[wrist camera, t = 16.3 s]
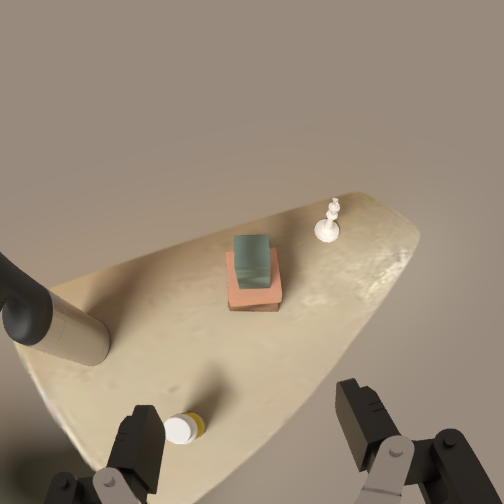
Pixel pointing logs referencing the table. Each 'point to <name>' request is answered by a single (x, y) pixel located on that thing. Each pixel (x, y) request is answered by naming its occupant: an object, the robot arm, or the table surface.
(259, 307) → the walnut base block
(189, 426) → the supplement bottle
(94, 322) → the robot arm
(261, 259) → the green pillar block
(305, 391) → the table surface
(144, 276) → the table surface
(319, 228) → the chess piece
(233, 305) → the terracotta top block
